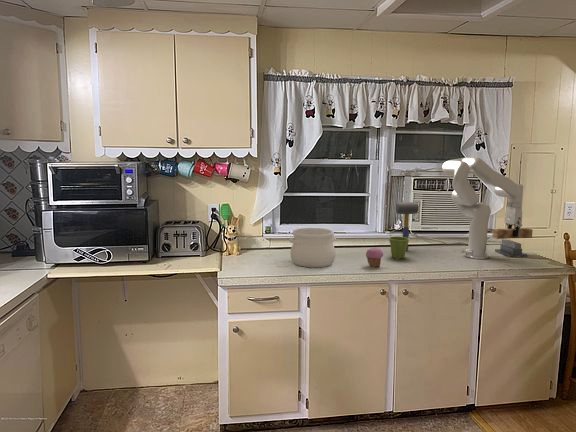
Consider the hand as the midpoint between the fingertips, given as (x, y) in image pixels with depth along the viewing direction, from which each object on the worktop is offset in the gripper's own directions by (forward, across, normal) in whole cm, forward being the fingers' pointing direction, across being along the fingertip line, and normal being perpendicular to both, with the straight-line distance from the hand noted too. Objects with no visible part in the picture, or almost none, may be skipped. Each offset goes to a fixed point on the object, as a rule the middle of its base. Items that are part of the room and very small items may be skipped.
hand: (512, 235), depth 250 cm
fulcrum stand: (+11, 0, 0) cm, 11 cm away
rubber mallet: (+11, -16, -59) cm, 62 cm away
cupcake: (+11, +18, -90) cm, 93 cm away
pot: (+11, +8, -121) cm, 122 cm away
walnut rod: (+1, 0, 0) cm, 1 cm away
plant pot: (+11, +1, -70) cm, 71 cm away
